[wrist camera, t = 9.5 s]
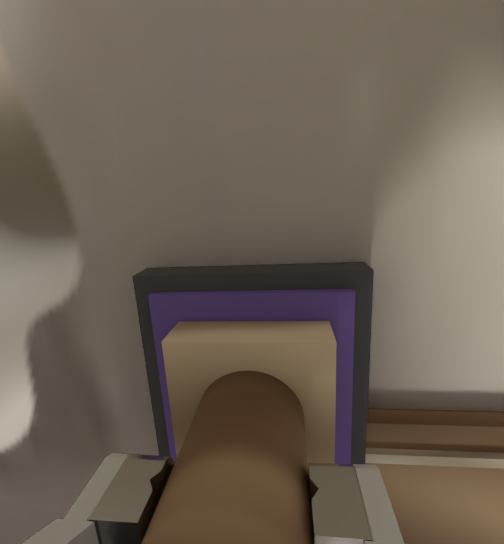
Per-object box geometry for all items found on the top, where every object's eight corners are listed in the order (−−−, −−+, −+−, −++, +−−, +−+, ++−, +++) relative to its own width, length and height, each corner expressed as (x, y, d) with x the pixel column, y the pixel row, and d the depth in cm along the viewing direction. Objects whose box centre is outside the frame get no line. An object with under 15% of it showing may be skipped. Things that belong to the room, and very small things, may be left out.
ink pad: (147, 268, 12) (128, 278, 11) (364, 262, 11) (376, 272, 10) (171, 443, 14) (158, 472, 12) (357, 450, 13) (366, 483, 12)
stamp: (178, 321, 11) (-331, 930, 2) (329, 321, 10) (617, 1194, 1) (192, 445, 12) (-77, 1169, 3) (328, 450, 11) (474, 1364, 2)
